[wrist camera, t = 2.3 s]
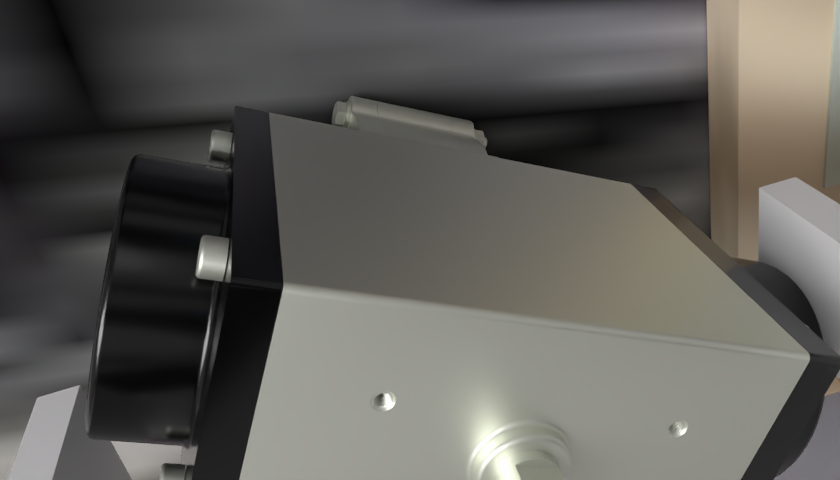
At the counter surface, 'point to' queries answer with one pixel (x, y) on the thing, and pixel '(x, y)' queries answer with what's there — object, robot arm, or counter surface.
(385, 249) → the pneumatic valve
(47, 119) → the counter surface
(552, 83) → the counter surface
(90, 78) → the counter surface
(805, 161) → the pipe stand
